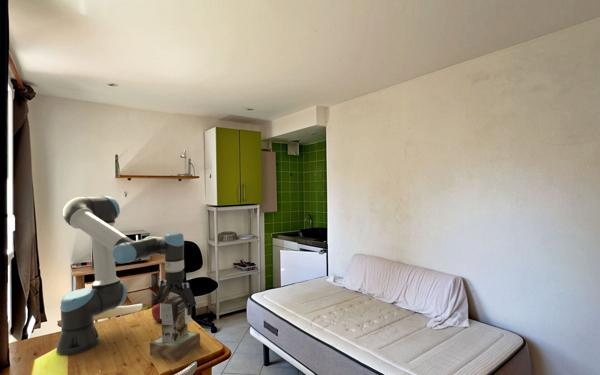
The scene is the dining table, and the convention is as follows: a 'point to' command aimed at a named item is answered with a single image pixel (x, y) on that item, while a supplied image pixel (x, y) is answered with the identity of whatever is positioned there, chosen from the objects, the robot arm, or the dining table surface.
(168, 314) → the coffee box
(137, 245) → the robot arm
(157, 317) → the vegetable
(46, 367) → the dining table surface
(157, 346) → the brown and green tray
